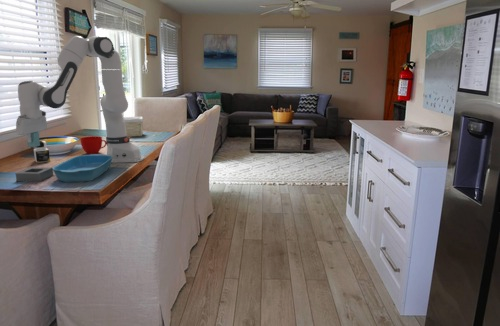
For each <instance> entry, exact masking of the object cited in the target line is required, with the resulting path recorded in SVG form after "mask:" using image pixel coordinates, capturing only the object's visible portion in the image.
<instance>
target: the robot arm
mask: <svg viewBox="0 0 500 326" xmlns="http://www.w3.org/2000/svg"><path fill="white" fill-rule="evenodd" d="M86 57H90V58H98V59H99V60H100V63H101V64H100V66H101V67H100V69H101V81H102V82H101V83H102V85H103V89H104V92H105V94H104V95H102V97H101V98H100V101H99V102H100V103H99V104H100V106H101V110H102V115H103V119H104V122H105V130H106V136H105V139H106V140H105V141H106V143H107V144H106V151H107V152H106V155H109V156H112V161H111V164H117V163H138V162H141V161H144V160H145V159H146V156H145V155H142V153H141V150H140V148H139V147H138V146H136V145H135V144H134V143H132V142H131V141H130V140H131V137H128V136H126V127H125V121H124V119H123V117H124V115H123V113H125V112H126V111H127V110H128V108H129V101H128V100H127V97H126V93H125V88H124V84H123V83H124V82H123V72H122V70H123V69H122V62H121V56H120V53H119V52H118V51H116V49H115V47H114V44H113V41H112V40H111V39H110V38H109V37H107V36H106V35H105V36H104V35H93V36H89V37H83V36H80V35H74V36H71V38H70V39H69V40H68V41H67V42H66V44H65V45H64V46H63V47H62V49H61V51H60V52H59V54H58V57H57V63H58V66H59V67H60V69H61V72H60V74H59V76H58V77H57V79H56V81H55V83H54V85H53V86H51V87H48V86H45V85H42V84H39V83H38V82H36V81H35V80H26V81H25V80H24V81H22V82H20V83H18V86H17V97H18V102H19V113H20V114H19V115H18V117H17V118H16V121H15V129H16V130H15V131H16V134H17V135H18V136H25V138H26V142H27V141H28V142H33V139H32V138H31V136H30V135H31V133H34V132H39V136H40V134H41V131H45V130H47V127H48V125H47V124H48V123H47V117H46V116H47V112H46V111H45V110H42V109H41V108H40V107H41V106H44V107H48V108H51V109H60V108H61V107H64V105H65V104H66V101H67V94H68V91H69V89H70V87H71V85H72V83H73V81H74V78H75V77H76V74H77V72H78V69H79V68H80V66H81V65H82V63H83V61H84V60H85V58H86Z"/></svg>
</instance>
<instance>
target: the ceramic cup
mask: <svg viewBox="0 0 500 326" xmlns="http://www.w3.org/2000/svg"><path fill="white" fill-rule="evenodd" d="M79 140H80V145H81V148H82V150H83V151H84V152H85V153H86V155H93V154H98V153H99V152H100V151H101V149H104V148H105V147H107V143H106V140H104V139H103V137H102V136H84V137H81V138H80V139H79ZM103 142H104V145H103V146H102V144H103Z"/></svg>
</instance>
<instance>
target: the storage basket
mask: <svg viewBox="0 0 500 326" xmlns="http://www.w3.org/2000/svg"><path fill="white" fill-rule="evenodd" d="M123 119H124V121H125V127H126V136H128V137H130V138H131V137H142V136H143V134H144V133H143V131H144V130H143V120H144V118H143V115H142V116H123Z"/></svg>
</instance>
